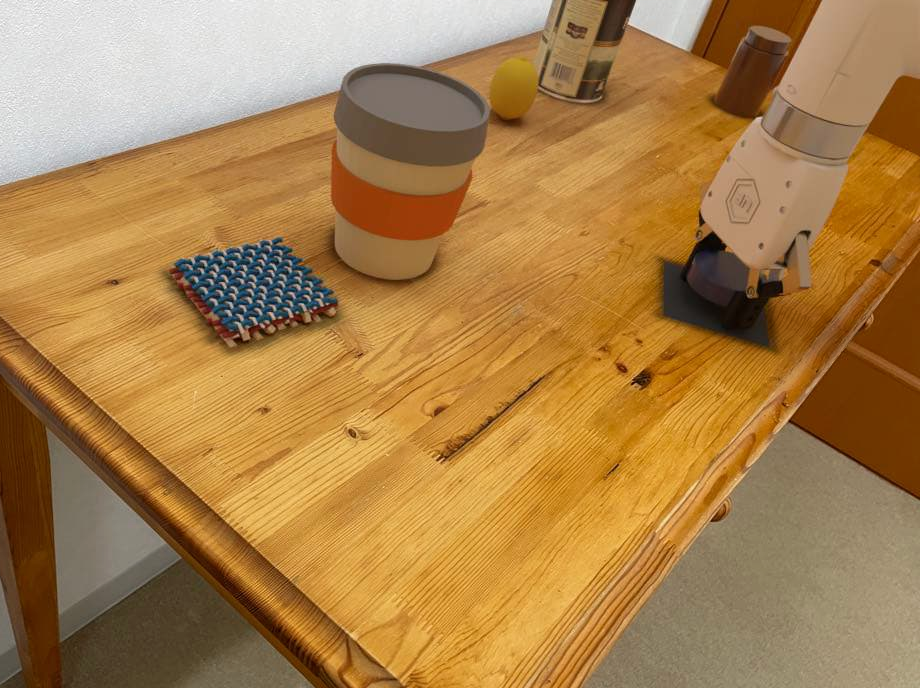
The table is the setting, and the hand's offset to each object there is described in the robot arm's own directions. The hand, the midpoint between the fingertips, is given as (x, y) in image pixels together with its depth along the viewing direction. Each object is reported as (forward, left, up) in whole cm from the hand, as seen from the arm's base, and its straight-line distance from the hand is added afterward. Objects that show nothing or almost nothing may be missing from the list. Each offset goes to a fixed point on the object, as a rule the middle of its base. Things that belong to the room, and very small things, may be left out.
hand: (714, 301), depth 81 cm
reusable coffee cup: (+31, +8, -1) cm, 32 cm away
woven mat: (+39, +20, -1) cm, 44 cm away
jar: (-5, -54, -1) cm, 54 cm away
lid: (0, 0, +3) cm, 3 cm away
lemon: (+25, -28, -1) cm, 38 cm away
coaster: (0, 0, -1) cm, 1 cm away
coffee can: (+19, -44, -1) cm, 48 cm away
